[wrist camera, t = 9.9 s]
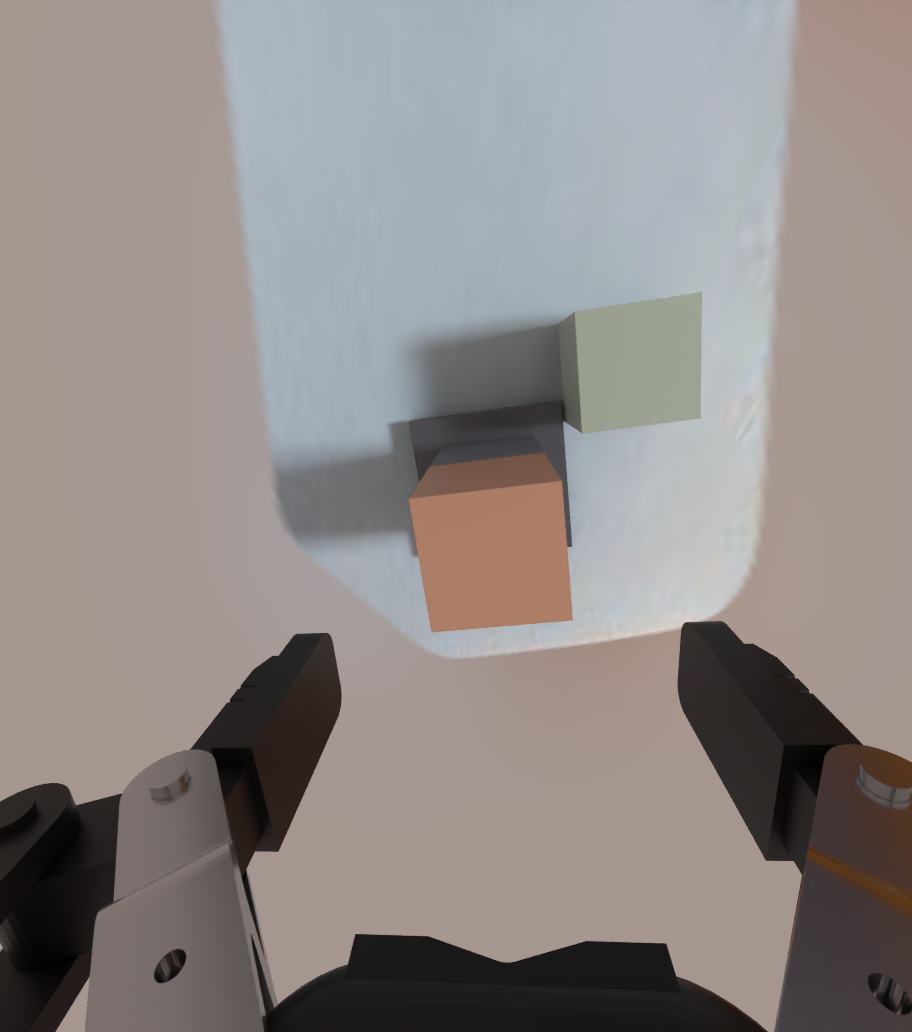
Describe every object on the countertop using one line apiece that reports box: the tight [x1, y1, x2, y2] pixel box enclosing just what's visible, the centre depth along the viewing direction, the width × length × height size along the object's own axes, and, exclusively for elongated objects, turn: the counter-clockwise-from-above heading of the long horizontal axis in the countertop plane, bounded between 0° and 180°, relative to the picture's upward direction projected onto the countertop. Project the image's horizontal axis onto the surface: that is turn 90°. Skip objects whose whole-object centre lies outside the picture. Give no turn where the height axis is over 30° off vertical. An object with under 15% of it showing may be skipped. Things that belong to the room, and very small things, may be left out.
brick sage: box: [558, 292, 702, 433], centre depth 25 cm, size 6×6×6 cm
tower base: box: [409, 401, 572, 547], centre depth 27 cm, size 9×9×7 cm
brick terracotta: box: [409, 452, 573, 632], centre depth 20 cm, size 6×6×6 cm
